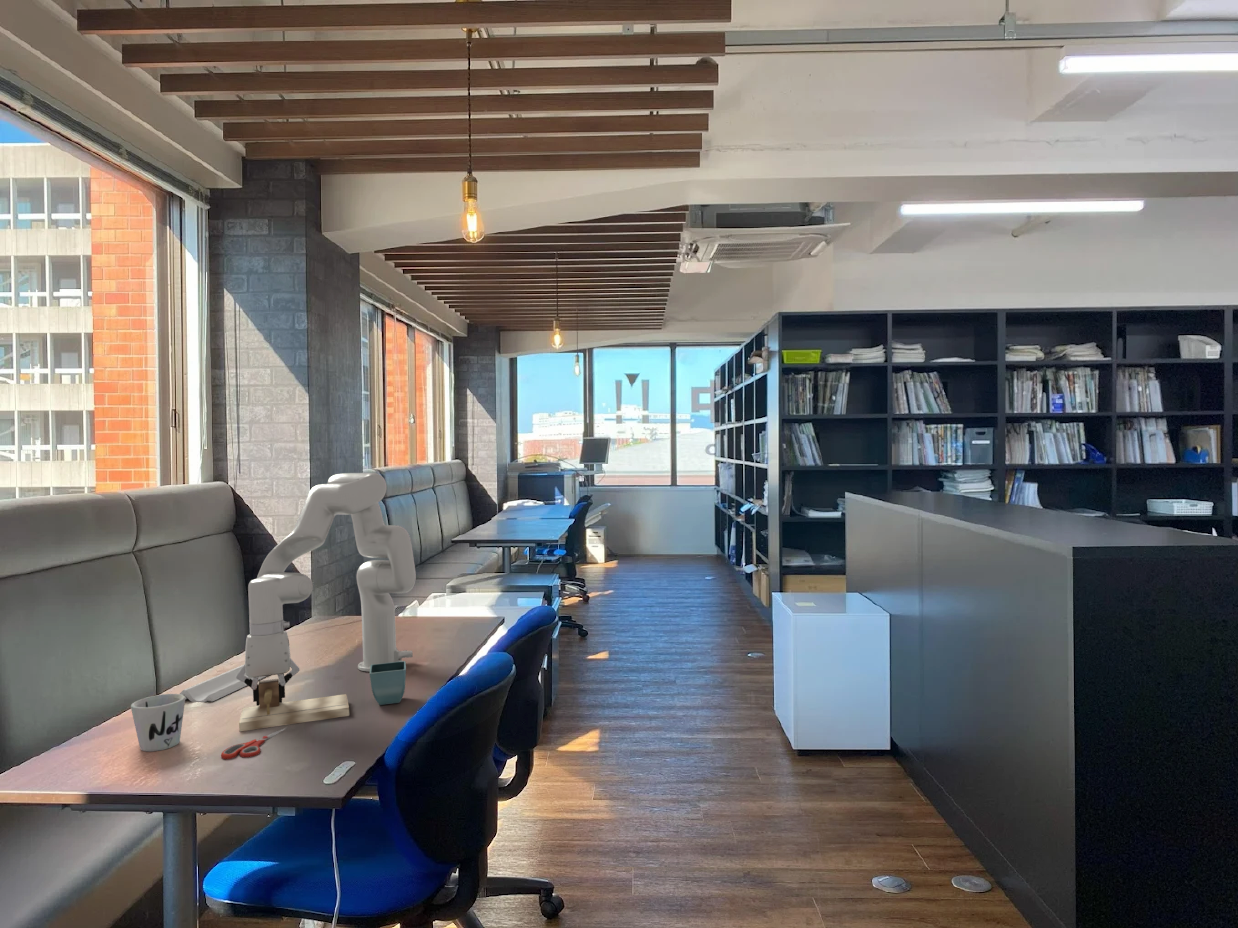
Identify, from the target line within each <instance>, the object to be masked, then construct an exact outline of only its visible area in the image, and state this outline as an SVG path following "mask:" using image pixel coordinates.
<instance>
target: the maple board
mask: <svg viewBox="0 0 1238 928" xmlns="http://www.w3.org/2000/svg"><path fill="white" fill-rule="evenodd" d="M343 717H350V706H349V701H348V695H347V694H346V693H345V694H337V695H331V696H330V695H329V696H321V697H315V698H309V699H308V698H307V699H300V700H291V701H284V702H282V703H280V704H279V706H277V707H270V714H269V715H267V708H263V709H260V707H259V706H257V705H255V706H249V707H243V708H241V713H240V717H239V722H238V729H239V730H238V731H239V732H246V731H253V730H260V729H266V728H273V727H279V726H287V725H294V724H301V723H310V722H316V721H323V720H330V719H336V718H343Z"/></svg>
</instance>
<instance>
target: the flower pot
mask: <svg viewBox="0 0 1238 928" xmlns="http://www.w3.org/2000/svg"><path fill="white" fill-rule="evenodd" d="M406 662H407V661H405V660H402V661H400V662H391V663H382V664H373V665H370V672H369V673H368V674H369V680H370V681H369V682H370V687H371V691H372V695H373V697H374V700H375V701H376V703H377V704H378V705H379V706H383V705H390V704H391V705H392V704H399V703H401V702H402V699H403V697H404V694H405V690H406V681H407V679H406V678H407V675H406V674H407V666H406V665H407V663H406Z"/></svg>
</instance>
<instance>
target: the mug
mask: <svg viewBox="0 0 1238 928" xmlns="http://www.w3.org/2000/svg"><path fill="white" fill-rule="evenodd" d="M185 703H186V699H185V696H184V695H181V694H180V693H165V694H164V693H163V694H157V695H151V696H148V697H147V696H146V697H144V698H141V699H138V700H136V701H134V702H132V703H131V704H130V709H131V714H132V719H133V723H134V727H135V732H136V736H137V741H138V746H139V748H140V750H141V751H143V752H150V753H151V752H159V751H164V750H168V749H171V748H173V747H175V746H177V745H179V743H180V741H181V735H182V727H183V719H184V711H185Z"/></svg>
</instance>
